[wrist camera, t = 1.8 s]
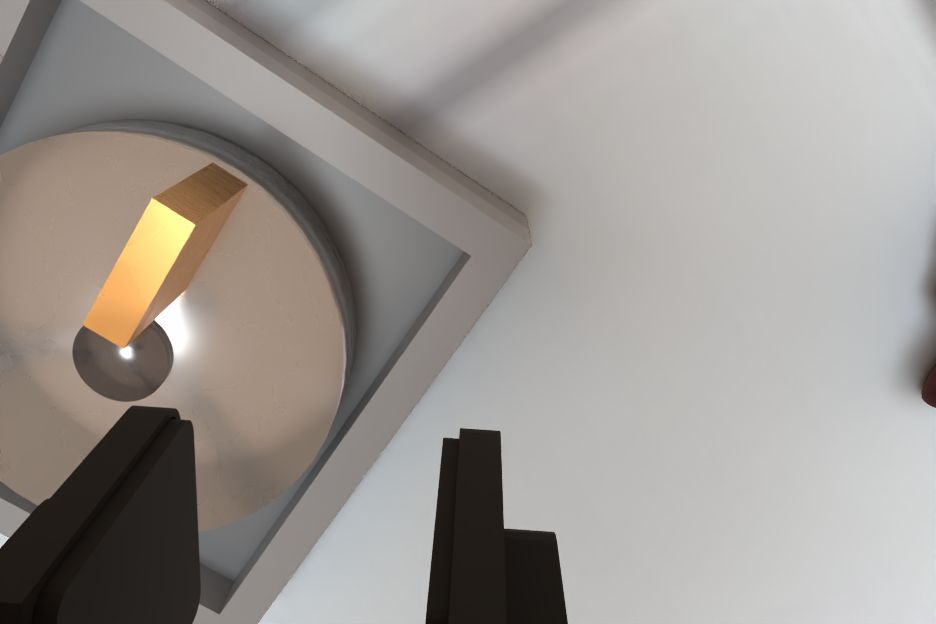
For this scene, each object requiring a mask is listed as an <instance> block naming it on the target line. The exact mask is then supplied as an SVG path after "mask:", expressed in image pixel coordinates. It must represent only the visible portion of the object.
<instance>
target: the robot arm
mask: <svg viewBox="0 0 936 624" xmlns="http://www.w3.org/2000/svg"><path fill="white" fill-rule="evenodd" d="M200 594H201V580H200V558H199V535H198V512H197V490H196V467H195V445H194V428H193V424H192V422H191V421H190V420H181V417H180V414H179V411H178V410H177V409H176V408H163V407H149V406H133V405H132V406H131V407H130V408H128V410H127V411H126V412H125V413H124V414H123V415H122V416H121V418H120V419H119V420H118V421H117V422H116V423H115V424H114V426H113V427H112V428H111V429H110V430H109V431H108V432H107V434H106V435H105V436H104V437H103V438H102V439H101V440H100V442H99V443H98V444H97V445H96V446H95V447H94V448H93V450H92V451H91V452H90V453H89V454H88V455H87V456H86V458H85V459H84V460H83V461H82V462H81V463H80V464H79V466H78V467H77V468H76V469H75V470H74V471H73V472H72V473H71V475H70V476H69V477H68V478H67V479H66V480H65V481H64V483H63V484H62V485H61V486H60V487H59V488H58V489H57V491H56V492H55V493H54V494H53V495H52V496H51V497H50V498H48V499H46V500H44V501H43V502H42V503H41V504H40V505H38V506H37V508H36V509H35V510H34V511H33V512H32V513H31V514H30V515H29V517H28V518H27V519H26V520H25V521H24V522H23V523H22V524H21V526H20V527H19V528H18V529H17V530H16V531H15V532H14V533H13V535H12V536H11V537H10V538H9V539H8V540H7V541H6V543H5V544H4V545H3V546H2V547H1V548H0V624H192V623H193V621H194V619H195V616H196V614H197V610H198V607H199V602H200ZM426 624H568V622H567V614H566V607H565V599H564V592H563V584H562V576H561V569H560V561H559V554H558V546H557V540H556V535H555V533H554V532H544V531H530V530H516V529H504V520H503V491H502V462H501V434H500V431H492V430H477V429H463V428H460V436H459V439H453V438H443V447H442V457H441V468H440V478H439V488H438V499H437V509H436V519H435V530H434V540H433V550H432V561H431V571H430V582H429V592H428V602H427V613H426Z"/></svg>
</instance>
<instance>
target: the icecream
mask: <svg viewBox="0 0 936 624" xmlns="http://www.w3.org/2000/svg"><path fill="white" fill-rule="evenodd" d="M922 399H923V400H924V401H925V402H926V403H927V404H928V405H930V406H932V407H935V408H936V364H935V366H934V367H933V369H932V370H931V372H930V373H929V375H928V376H927V378H926V380H925V383H924V386H923V389H922Z"/></svg>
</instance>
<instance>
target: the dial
mask: <svg viewBox="0 0 936 624" xmlns="http://www.w3.org/2000/svg"><path fill="white" fill-rule="evenodd" d="M355 342H356V315H355V305H354V300H353V294H352V289H351V284H350V281H349V278H348V275H347V272H346V269H345V265H344V262H343V260H342V258H341V255H340V253H339V251H338V249H337V247H336V245H335V243H334V241H333V239H332V237H331V235H330V233H329V232H328V230H327V229H326V227H325V226H324V224H323V223H322V221H321V219H320V218H319V216H318V215H317V213H316V212H315V211H314V210H313V209H312V207H311V206H310V205H309V204H308V203H307V201H306V200H305V199H304V198H303V197H302V195H301V194H300V193H299V192H298V191H297V190H296V189H295V188H294V187H293V186H292V185H291V184H290V183H288V182H287V181H286V180H285V179H284V178H283V177H282V176H281V175H280V174H279V173H278V172H276V171H275V170H273V169H272V168H271V167H269V166H268V165H267V164H265V163H264V162H263V161H261V160H260V159H258V158H257V157H256V156H254V155H252V154H250V153H249V152H247V151H245V150H243V149H241V148H240V147H238V146H236V145H234V144H233V143H231V142H228V141H226V140H223V139H221V138H219V137H216V136H214V135H211V134H209V133H206V132H204V131H200V130H196V129H193V128H189V127H185V126H182V125H178V124H172V123H164V122H157V121H150V120H119V121H111V122H104V123H96V124H92V125H88V126H84V127H81V128H77V129H74V130H70V131H67V132H64V133H60V134H57V135H54V136H51V137H48V138H44V139H41V140H38V141H35V142H31V143H28V144H25V145H22V146H20V147H18V148H15V149H13V150H11V151H9V152H7V153H4V154H2V155H0V481H1V482H2V483H4V484H5V485H6V486H8V487H9V488H10V489H12V490H13V491H14V492H16V493H17V494H19V495H21V496H22V497H24V498H26V499H27V500H29V501H31V502H32V503H34V504H36V505H37V506H38V505H40V504H41V503H42V502H43V501H44V500H46V499H48V498H50V497H51V496H52V495H53V494H54V493H55V492H56V491H57V489H58V488H59V487H60V486H61V485H62V484H63V483H64V481H65V480H66V479H67V478H68V477H69V476H70V475H71V473H72V472H73V471H74V470H75V469H76V468H77V467H78V466H79V464H80V463H81V462H82V461H83V460H84V459H85V458H86V456H87V455H88V454H89V453H90V452H91V451H92V450H93V448H94V447H95V446H96V445H97V444H98V443H99V442H100V440H101V439H102V438H103V437H104V436H105V435H106V434H107V432H108V431H109V430H110V429H111V428H112V427H113V426H114V424H115V423H116V422H117V421H118V420H119V419H120V418H121V416H122V415H123V414H124V413H125V412H126V411H127V410H128V408H130V407H131V406H132V405H133V406H149V407H163V408H176V409H177V410H178V411H179V414H180V417H181V420H190V421H191V422H192V424H193V428H194V445H195V467H196V490H197V512H198V532H201V531H206V530H210V529H215V528H218V527H221V526H224V525H226V524H229V523H232V522H235V521H238V520H240V519H242V518H244V517H246V516H248V515H250V514H252V513H254V512H256V511H258V510H260V509H261V508H263V507H264V506H266V505H267V504H269V503H270V502H272V501H273V500H274V499H276V498H277V497H279V496H280V495H281V494H283V493H284V492H285V491H286V490H287V489H288V488H289V487H290V486H291V485H292V484H293V483H294V482H295V481H297V480H298V479H299V477H300V476H301V475H302V474H303V473H304V471H305V470H306V469H307V468H308V466H309V465H310V464H311V463H312V461H313V460H314V458H315V457H316V455H317V453H318V452H319V450H320V448H321V447H322V445H323V443H324V442H325V440H326V438H327V435H328V433H329V430H330V428H331V425H332V423H333V420H334V418H335V415H336V413H337V410H338V407H339V404H340V402H341V399H342V396H343V393H344V391H345V388H346V385H347V382H348V379H349V375H350V371H351V367H352V363H353V359H354V352H355Z"/></svg>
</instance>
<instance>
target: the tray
mask: <svg viewBox="0 0 936 624" xmlns="http://www.w3.org/2000/svg"><path fill="white" fill-rule="evenodd" d="M119 120H150V121H157V122H164V123H172V124H178V125H182V126H185V127H189V128H193V129H196V130H200V131H204V132H206V133H209V134H211V135H214V136H216V137H219V138H221V139H223V140H226V141H228V142H231V143H233V144H234V145H236V146H238V147H240V148H241V149H243V150H245V151H247V152H249V153H250V154H252V155H254V156H256V157H257V158H258V159H260V160H261V161H263V162H264V163H265V164H267V165H268V166H269V167H271V168H272V169H273V170H275V171H276V172H278V173H279V174H280V175H281V176H282V177H283V178H284V179H285V180H286V181H287V182H288V183H290V184H291V185H292V186H293V187H294V188H295V189H296V190H297V191H298V192H299V193H300V194H301V195H302V197H303V198H304V199H305V200H306V201H307V203H308V204H309V205H310V206H311V207H312V209H313V210H314V211H315V212H316V213H317V215H318V216H319V218H320V219H321V221H322V223H323V224H324V226H325V227H326V229H327V230H328V232H329V233H330V235H331V237H332V239H333V241H334V243H335V245H336V247H337V249H338V251H339V253H340V255H341V258H342V260H343V262H344V265H345V269H346V272H347V275H348V278H349V281H350V284H351V289H352V294H353V300H354V305H355V315H356V342H355V352H354V359H353V363H352V367H351V371H350V375H349V379H348V382H347V385H346V388H345V391H344V393H343V396H342V399H341V402H340V404H339V407H338V410H337V413H336V415H335V418H334V420H333V423H332V425H331V428H330V430H329V433H328V435H327V438H326V440H325V442H324V443H323V445H322V447H321V448H320V450H319V452H318V453H317V455H316V457H315V458H314V460H313V461H312V463H311V464H310V465H309V466H308V468H307V469H306V470H305V471H304V473H303V474H302V475H301V476H300V477H299V479H298V480H297V481H295V482H294V483H293V484H292V485H291V486H290V487H289V488H288V489H287V490H286V491H285V492H284V493H283V494H281V495H280V496H279V497H277V498H276V499H274V500H273V501H272V502H270V503H269V504H267V505H266V506H264V507H263V508H261V509H260V510H258V511H256V512H254V513H252V514H250V515H248V516H246V517H244V518H242V519H240V520H238V521H235V522H232V523H229V524H226V525H224V526H221V527H218V528H215V529H210V530H206V531H201V532H198V535H199V558H200V580H201V594H200V602H199V607H198V610H197V614H196V616H195V619H194V621H193V623H192V624H258V622H259V621H260V620H261V618H262V617H263V615H264V614H265V613H266V611H267V610H268V609H269V607H270V606H271V604H272V603H273V602H274V600H275V599H276V597H277V596H278V595H279V593H280V592H281V591H282V589H283V588H284V586H285V585H286V584H287V582H288V581H289V579H290V578H291V577H292V575H293V574H294V573H295V571H296V570H297V568H298V567H299V566H300V564H301V563H302V562H303V560H304V559H305V557H306V556H307V555H308V553H309V552H310V550H311V549H312V548H313V546H314V545H315V544H316V542H317V541H318V539H319V538H320V537H321V535H322V534H323V533H324V531H325V530H326V528H327V527H328V526H329V524H330V523H331V521H332V520H333V519H334V517H335V516H336V515H337V513H338V512H339V510H340V509H341V508H342V506H343V505H344V504H345V502H346V501H347V499H348V498H349V497H350V495H351V494H352V492H353V491H354V490H355V488H356V487H357V486H358V484H359V483H360V481H361V480H362V479H363V477H364V476H365V475H366V473H367V472H368V470H369V469H370V468H371V466H372V465H373V463H374V462H375V461H376V459H377V458H378V457H379V455H380V454H381V452H382V451H383V450H384V448H385V447H386V446H387V444H388V443H389V441H390V440H391V439H392V437H393V436H394V434H395V433H396V432H397V430H398V429H399V428H400V426H401V425H402V423H403V422H404V421H405V419H406V418H407V417H408V415H409V414H410V412H411V411H412V410H413V408H414V407H415V405H416V404H417V403H418V401H419V400H420V399H421V397H422V396H423V394H424V393H425V392H426V390H427V389H428V387H429V386H430V385H431V383H432V382H433V381H434V379H435V378H436V376H437V375H438V374H439V372H440V371H441V370H442V368H443V367H444V365H445V364H446V363H447V361H448V360H449V358H450V357H451V356H452V354H453V353H454V352H455V350H456V349H457V347H458V346H459V345H460V343H461V342H462V341H463V339H464V338H465V336H466V335H467V334H468V332H469V331H470V329H471V328H472V327H473V325H474V324H475V323H476V321H477V320H478V318H479V317H480V316H481V314H482V313H483V312H484V310H485V309H486V307H487V306H488V305H489V303H490V302H491V300H492V299H493V298H494V296H495V295H496V294H497V292H498V291H499V289H500V288H501V287H502V285H503V284H504V283H505V281H506V280H507V278H508V277H509V276H510V274H511V273H512V271H513V270H514V269H515V267H516V266H517V265H518V263H519V262H520V260H521V259H522V258H523V256H524V255H525V254H526V252H527V251H528V249H529V248H530V247H531V245H532V244H531V239H530V234H529V228H528V223H527V218H526V216H525V215H524V214H522V213H521V212H519V211H518V210H516V209H515V208H513V207H512V206H511V205H509V204H508V203H506V202H505V201H503V200H502V199H500V198H499V197H497V196H496V195H494V194H493V193H491V192H490V191H488V190H487V189H485V188H484V187H482V186H481V185H479V184H478V183H476V182H475V181H473V180H472V179H470V178H469V177H467V176H466V175H464V174H463V173H461V172H460V171H458V170H457V169H455V168H454V167H452V166H451V165H449V164H448V163H447V162H445V161H444V160H442V159H441V158H439V157H438V156H436V155H435V154H433V153H432V152H430V151H429V150H427V149H426V148H424V147H423V146H421V145H420V144H418V143H417V142H415V141H414V140H412V139H411V138H409V137H408V136H406V135H405V134H403V133H402V132H400V131H399V130H397V129H396V128H394V127H393V126H391V125H390V124H388V123H387V122H385V121H384V120H382V119H381V118H380V117H378V116H377V115H375V114H374V113H372V112H371V111H369V110H368V109H366V108H365V107H363V106H362V105H360V104H359V103H357V102H356V101H354V100H353V99H351V98H350V97H348V96H347V95H345V94H344V93H342V92H341V91H339V90H338V89H336V88H335V87H333V86H332V85H330V84H329V83H327V82H326V81H324V80H323V79H321V78H320V77H318V76H317V75H315V74H314V73H313V72H311V71H310V70H308V69H307V68H305V67H304V66H302V65H301V64H299V63H298V62H296V61H295V60H293V59H292V58H290V57H289V56H287V55H286V54H284V53H283V52H281V51H280V50H278V49H277V48H275V47H274V46H272V45H271V44H269V43H268V42H266V41H265V40H263V39H262V38H260V37H259V36H257V35H256V34H254V33H253V32H251V31H250V30H249V29H247V28H246V27H244V26H243V25H241V24H240V23H238V22H237V21H235V20H234V19H232V18H231V17H229V16H228V15H226V14H225V13H223V12H222V11H220V10H219V9H217V8H216V7H214V6H213V5H211V4H210V3H208V2H207V1H205V0H0V155H2V154H4V153H7V152H9V151H11V150H13V149H15V148H18V147H20V146H22V145H25V144H28V143H31V142H35V141H38V140H41V139H44V138H48V137H51V136H54V135H57V134H60V133H64V132H67V131H70V130H74V129H77V128H81V127H84V126H88V125H92V124H96V123H104V122H111V121H119ZM36 508H37V505H36V504H34V503H32V502H31V501H29V500H27V499H26V498H24V497H22V496H21V495H19V494H17V493H16V492H14V491H13V490H12V489H10V488H9V487H8V486H6V485H5V484H4V483H2V482H1V481H0V533H1V534H3V535H5V536H7V537H9V538H10V537H11V536H12V535H13V533H14V532H15V531H16V530H17V529H18V528H19V527H20V526H21V524H22V523H23V522H24V521H25V520H26V519H27V518H28V517H29V515H30V514H31V513H32V512H33V511H34V510H35V509H36Z"/></svg>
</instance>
